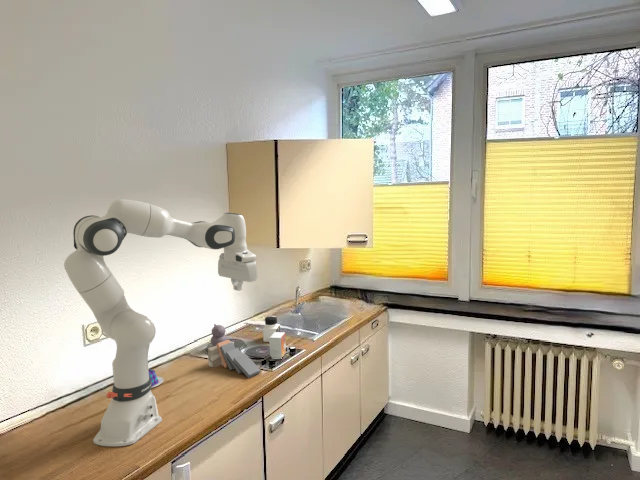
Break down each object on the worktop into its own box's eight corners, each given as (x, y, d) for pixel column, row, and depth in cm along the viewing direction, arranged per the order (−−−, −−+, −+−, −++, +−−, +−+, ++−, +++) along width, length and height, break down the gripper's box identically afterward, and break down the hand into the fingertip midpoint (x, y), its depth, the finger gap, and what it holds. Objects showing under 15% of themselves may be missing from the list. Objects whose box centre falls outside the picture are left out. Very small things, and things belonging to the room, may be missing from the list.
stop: (234, 359, 205) (233, 342, 204) (212, 367, 197) (211, 350, 195) (230, 357, 207) (229, 340, 206) (208, 365, 198) (207, 348, 197)
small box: (281, 360, 202) (280, 338, 201) (269, 359, 203) (268, 337, 202) (286, 353, 210) (285, 332, 209) (275, 353, 211) (274, 331, 210)
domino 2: (251, 366, 193) (237, 347, 198) (240, 371, 188) (226, 351, 193) (250, 369, 194) (236, 350, 199) (238, 374, 189) (225, 354, 194)
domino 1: (243, 364, 196) (232, 342, 200) (232, 368, 192) (221, 345, 195) (241, 365, 198) (230, 343, 201) (230, 370, 193) (219, 347, 196)
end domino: (237, 362, 199) (229, 339, 201) (226, 367, 195) (218, 343, 197) (235, 363, 200) (227, 340, 202) (224, 368, 196) (216, 344, 198)
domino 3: (260, 370, 189) (245, 353, 195) (249, 374, 184) (234, 357, 190) (259, 373, 189) (244, 356, 195) (248, 378, 185) (233, 360, 191)
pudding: (147, 376, 191) (146, 364, 190) (169, 379, 186) (169, 367, 186) (125, 388, 180) (124, 376, 179) (149, 392, 175) (148, 380, 175)
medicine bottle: (276, 342, 225) (275, 319, 224) (263, 341, 226) (262, 319, 225) (280, 337, 232) (279, 315, 231) (267, 337, 233) (266, 314, 232)
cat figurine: (229, 350, 216) (228, 326, 214) (213, 353, 213) (211, 329, 211) (225, 344, 224) (224, 321, 222) (209, 347, 220) (208, 324, 219)
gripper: (212, 253, 176) (215, 287, 178) (246, 258, 162) (247, 295, 164) (226, 251, 180) (228, 284, 182) (259, 256, 167) (261, 292, 169)
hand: (237, 290), depth 173 cm, fingers closed
